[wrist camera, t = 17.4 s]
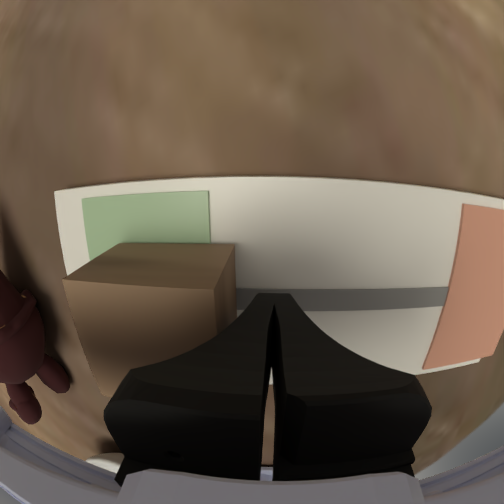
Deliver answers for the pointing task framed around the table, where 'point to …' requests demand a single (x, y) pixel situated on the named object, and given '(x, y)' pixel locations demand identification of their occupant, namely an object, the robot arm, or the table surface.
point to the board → (326, 253)
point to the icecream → (25, 352)
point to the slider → (150, 304)
